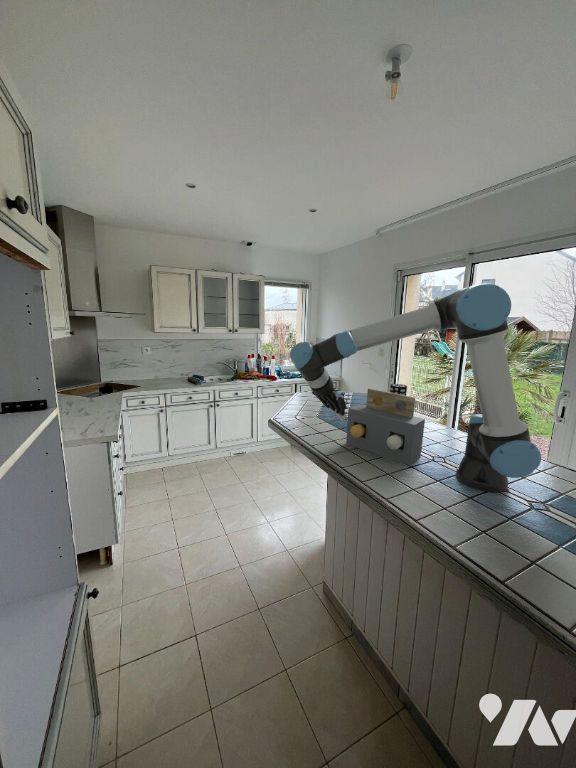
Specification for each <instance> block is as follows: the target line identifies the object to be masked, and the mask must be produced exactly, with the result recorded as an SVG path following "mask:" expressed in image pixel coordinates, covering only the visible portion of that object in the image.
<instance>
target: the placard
mask: <svg viewBox="0 0 576 768" xmlns="http://www.w3.org/2000/svg"><path fill="white" fill-rule="evenodd" d="M415 403H416V397H415V396H410V395H406V396H405V395H400V394H394V393H390V391H389V392H388V391H384V390H383V391H382V390H378V389H373V388H367V394H366V403H365V405H366V407H369V408H373V409H377V410H381V411H385V412H390V413H394V414H398V415H402V416H406V417H411V418H413V416H414V414H415V413H414V412H415Z"/></svg>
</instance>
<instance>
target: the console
mask: <svg viewBox="0 0 576 768" xmlns="http://www.w3.org/2000/svg"><path fill="white" fill-rule="evenodd" d="M347 414H348V415H347V424H346V425H347V426H346V441H345V445H348V446H351V447H354V448H357V449H360V450H363V451H365V452H368V453H371V454H375V455H377V456H380V457H383V458H385V459H388V460H392V461H395V462H398V463H401V464H403V465H407V466H408V467H409V466H410V467H411V466H412V465H413V464H415V463H416V462H417V461H418V460H419V459H421V455H422V448H423V440H424V432H425V425H426V424H425V423H426V418H421V417H418V416H414V415H413V418H411V417H406V416H402V415H398V414H394V413H390V412H385V411H381V410H377V409H373V408H369V407H366V404H363V403H362V404H361V403H360V404H358V405H357V404H356V405H353V406H351V407H349V408H348V412H347ZM357 424H362V425H363V426H364V427H365V429H366V432H365V434H364V435H362V436H360V437H358V438H355V437H353V436H352V434H351V431H350V430H351V427H352V426H354V425H357ZM394 434H398V435H400V436H401V437H402V438H403V441H404V443H403V445H402V446H401V447H399V448H398V449H396V450H393V449H391V448H389V447H388V445H387V439H388V438H389V437H390V436H392V435H394Z"/></svg>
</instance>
